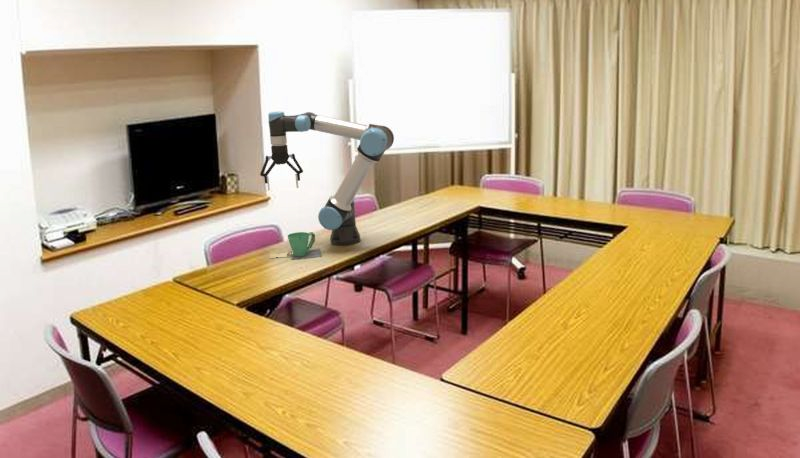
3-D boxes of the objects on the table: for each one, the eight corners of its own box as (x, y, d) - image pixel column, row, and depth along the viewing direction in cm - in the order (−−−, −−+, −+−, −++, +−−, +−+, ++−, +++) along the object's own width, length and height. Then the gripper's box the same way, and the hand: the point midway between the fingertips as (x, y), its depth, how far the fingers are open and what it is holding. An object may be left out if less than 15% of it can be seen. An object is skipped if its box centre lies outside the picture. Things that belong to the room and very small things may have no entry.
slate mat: (320, 248, 332) (320, 248, 331) (321, 256, 318) (321, 256, 318) (291, 251, 330) (291, 251, 330) (291, 259, 316) (291, 259, 316)
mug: (299, 259, 315) (297, 238, 313) (285, 256, 321) (283, 235, 319) (322, 251, 326) (320, 231, 324) (308, 249, 332) (306, 229, 330)
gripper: (304, 141, 329) (308, 185, 334) (252, 145, 325) (256, 189, 330) (306, 143, 322) (309, 187, 327) (252, 147, 317) (256, 192, 323)
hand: (283, 188), depth 329 cm, fingers open, 13 cm apart
